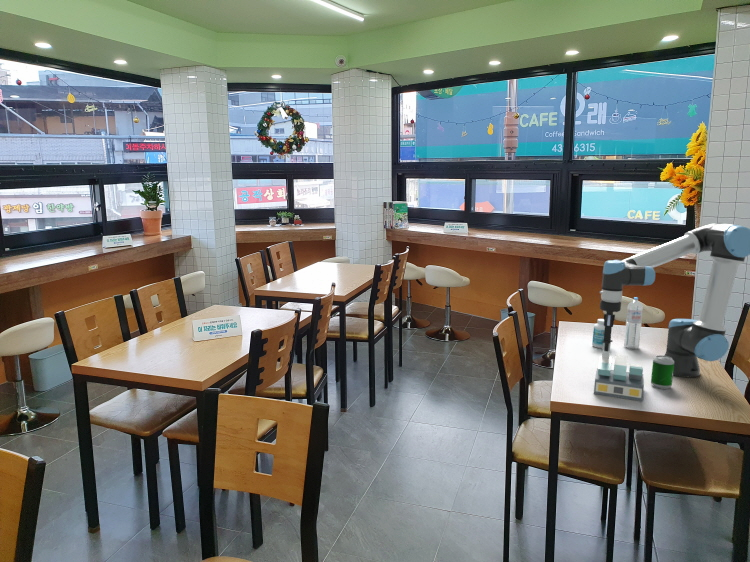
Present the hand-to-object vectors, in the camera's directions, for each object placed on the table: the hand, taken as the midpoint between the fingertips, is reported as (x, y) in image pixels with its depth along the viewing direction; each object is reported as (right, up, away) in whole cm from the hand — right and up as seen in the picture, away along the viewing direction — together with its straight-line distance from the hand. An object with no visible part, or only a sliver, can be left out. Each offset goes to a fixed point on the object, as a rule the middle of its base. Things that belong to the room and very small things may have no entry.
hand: (605, 358), depth 227 cm
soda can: (+23, -12, +1) cm, 26 cm away
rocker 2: (+3, -4, -5) cm, 8 cm away
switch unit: (+3, -12, -4) cm, 13 cm away
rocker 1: (-2, -4, -3) cm, 5 cm away
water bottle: (+34, -2, +52) cm, 62 cm away
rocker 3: (+8, -5, -8) cm, 12 cm away
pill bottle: (+19, -2, +54) cm, 57 cm away
